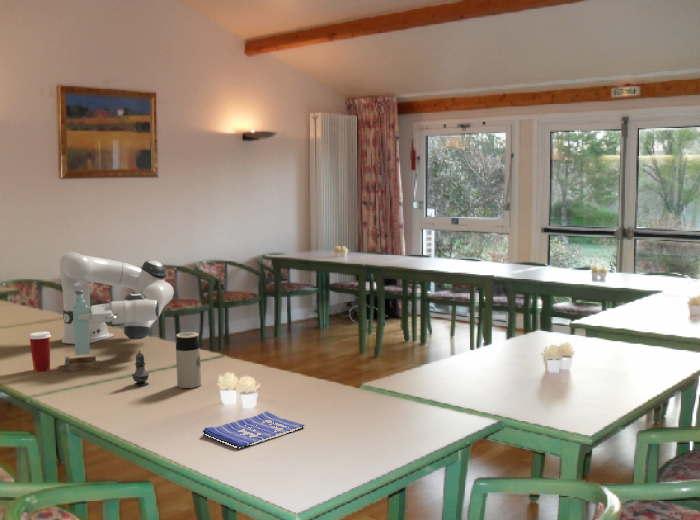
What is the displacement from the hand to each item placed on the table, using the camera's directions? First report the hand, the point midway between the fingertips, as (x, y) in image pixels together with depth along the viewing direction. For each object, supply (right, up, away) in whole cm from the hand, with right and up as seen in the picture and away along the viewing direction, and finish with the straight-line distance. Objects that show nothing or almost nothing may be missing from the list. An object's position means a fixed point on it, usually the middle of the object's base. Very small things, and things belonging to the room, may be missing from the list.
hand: (78, 315), depth 283 cm
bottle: (+1, -14, +2) cm, 15 cm away
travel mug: (+48, -22, -26) cm, 59 cm away
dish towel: (+76, -28, -73) cm, 109 cm away
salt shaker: (+30, -22, -24) cm, 45 cm away
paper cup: (-13, -21, -2) cm, 24 cm away
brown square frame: (+1, -20, +3) cm, 20 cm away
